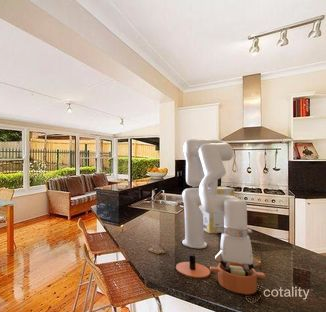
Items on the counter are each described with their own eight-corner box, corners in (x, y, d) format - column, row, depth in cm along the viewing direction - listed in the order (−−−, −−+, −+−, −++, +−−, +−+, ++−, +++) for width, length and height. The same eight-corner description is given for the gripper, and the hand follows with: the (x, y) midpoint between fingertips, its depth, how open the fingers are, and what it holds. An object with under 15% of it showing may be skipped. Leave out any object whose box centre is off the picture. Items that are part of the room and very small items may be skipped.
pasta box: (209, 233, 148) (208, 189, 148) (199, 228, 158) (198, 187, 159) (235, 231, 150) (234, 188, 151) (224, 226, 161) (223, 186, 161)
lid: (176, 262, 109) (175, 247, 109) (207, 266, 104) (207, 250, 104) (176, 276, 96) (175, 259, 96) (212, 281, 91) (211, 263, 91)
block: (228, 276, 91) (228, 265, 91) (242, 278, 89) (241, 266, 89) (231, 282, 87) (231, 270, 87) (245, 284, 85) (245, 272, 85)
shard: (158, 246, 129) (158, 242, 129) (171, 249, 123) (171, 246, 123) (147, 251, 121) (147, 248, 121) (161, 256, 116) (161, 252, 116)
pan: (208, 274, 97) (208, 258, 97) (259, 281, 91) (258, 264, 91) (213, 290, 85) (212, 272, 85) (271, 299, 79) (270, 280, 79)
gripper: (258, 230, 89) (259, 278, 89) (209, 227, 95) (210, 271, 95) (265, 237, 82) (267, 288, 82) (212, 232, 88) (213, 281, 88)
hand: (236, 279), depth 88 cm, fingers closed on block, 4 cm apart
